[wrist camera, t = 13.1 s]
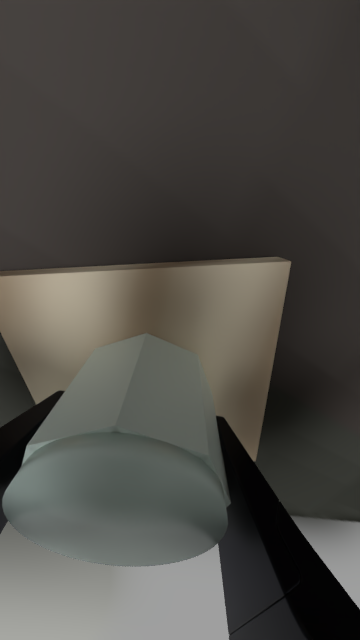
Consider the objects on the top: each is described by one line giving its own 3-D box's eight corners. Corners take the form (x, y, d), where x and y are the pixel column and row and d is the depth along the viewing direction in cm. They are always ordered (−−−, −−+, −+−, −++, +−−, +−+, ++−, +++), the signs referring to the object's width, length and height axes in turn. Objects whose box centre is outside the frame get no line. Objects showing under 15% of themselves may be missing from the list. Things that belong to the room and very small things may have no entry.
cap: (175, 442, 12) (170, 578, 7) (73, 408, 11) (-7, 543, 6) (231, 368, 9) (275, 501, 5) (107, 316, 8) (16, 425, 4)
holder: (277, 256, 8) (326, 273, 6) (249, 442, 14) (268, 501, 11) (-1, 271, 9) (-91, 294, 6) (74, 445, 14) (46, 503, 11)
